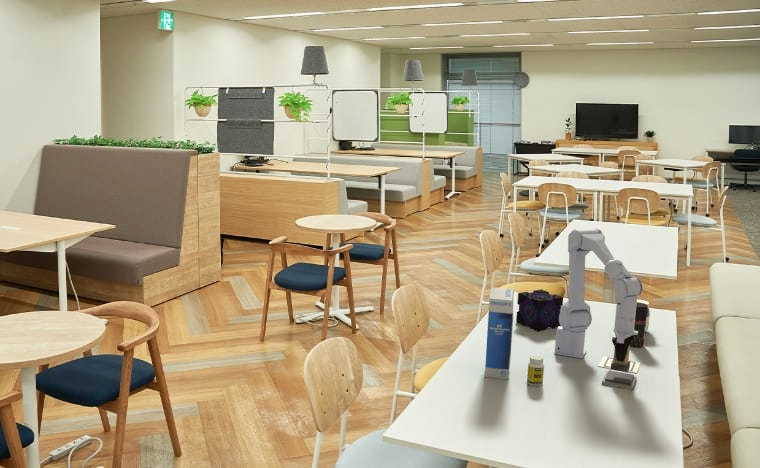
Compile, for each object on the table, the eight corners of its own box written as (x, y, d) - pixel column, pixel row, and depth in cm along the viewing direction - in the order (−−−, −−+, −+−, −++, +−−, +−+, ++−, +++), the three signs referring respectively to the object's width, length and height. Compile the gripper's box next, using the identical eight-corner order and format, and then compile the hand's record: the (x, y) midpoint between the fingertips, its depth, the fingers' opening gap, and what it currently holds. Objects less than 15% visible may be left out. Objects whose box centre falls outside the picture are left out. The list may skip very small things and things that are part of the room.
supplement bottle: (533, 387, 218) (535, 361, 217) (523, 381, 222) (525, 356, 221) (545, 384, 220) (547, 358, 219) (535, 379, 224) (537, 353, 223)
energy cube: (561, 327, 275) (563, 297, 273) (537, 331, 269) (539, 301, 267) (539, 318, 285) (541, 289, 283) (516, 322, 279) (518, 292, 277)
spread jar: (643, 337, 266) (646, 307, 263) (612, 331, 272) (615, 301, 269) (651, 328, 276) (654, 299, 273) (621, 323, 282) (624, 294, 279)
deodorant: (644, 348, 254) (648, 307, 251) (627, 346, 255) (631, 306, 252) (642, 342, 260) (646, 302, 257) (625, 341, 261) (628, 301, 258)
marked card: (598, 366, 236) (598, 365, 236) (603, 356, 245) (603, 355, 245) (636, 373, 231) (636, 372, 231) (640, 363, 240) (640, 362, 240)
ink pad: (601, 384, 222) (602, 378, 221) (606, 374, 230) (607, 369, 229) (632, 389, 218) (632, 384, 218) (636, 379, 226) (636, 374, 226)
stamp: (610, 369, 222) (612, 344, 220) (613, 364, 226) (615, 339, 225) (627, 372, 220) (630, 347, 218) (629, 367, 224) (632, 342, 223)
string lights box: (487, 362, 238) (491, 286, 232) (510, 364, 236) (515, 288, 231) (484, 377, 225) (488, 298, 220) (509, 380, 223) (514, 300, 218)
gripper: (636, 325, 212) (631, 368, 214) (642, 312, 224) (637, 353, 227) (611, 321, 215) (607, 364, 217) (618, 308, 227) (614, 349, 230)
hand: (621, 358), depth 222 cm, fingers closed on stamp, 4 cm apart
